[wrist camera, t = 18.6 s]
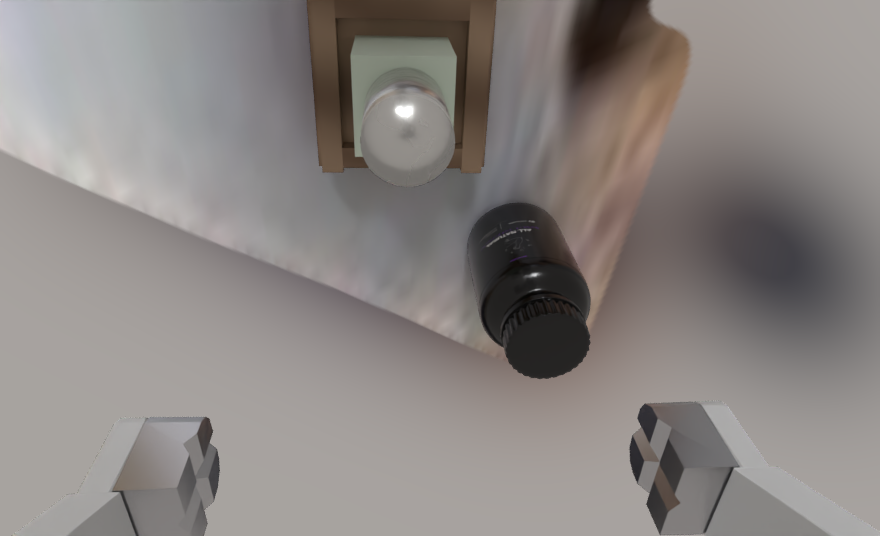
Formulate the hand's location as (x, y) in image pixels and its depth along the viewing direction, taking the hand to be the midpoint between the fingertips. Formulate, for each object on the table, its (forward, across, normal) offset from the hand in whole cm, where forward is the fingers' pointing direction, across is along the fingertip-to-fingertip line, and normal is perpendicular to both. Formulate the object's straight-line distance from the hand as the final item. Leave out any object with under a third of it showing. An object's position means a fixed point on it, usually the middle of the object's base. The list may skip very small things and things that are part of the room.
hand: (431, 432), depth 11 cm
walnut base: (+29, 0, 0) cm, 29 cm away
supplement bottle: (+29, -8, +12) cm, 33 cm away
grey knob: (+21, 0, 0) cm, 21 cm away
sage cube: (+26, 0, 0) cm, 26 cm away
